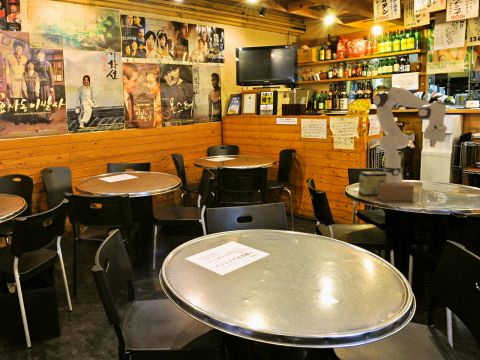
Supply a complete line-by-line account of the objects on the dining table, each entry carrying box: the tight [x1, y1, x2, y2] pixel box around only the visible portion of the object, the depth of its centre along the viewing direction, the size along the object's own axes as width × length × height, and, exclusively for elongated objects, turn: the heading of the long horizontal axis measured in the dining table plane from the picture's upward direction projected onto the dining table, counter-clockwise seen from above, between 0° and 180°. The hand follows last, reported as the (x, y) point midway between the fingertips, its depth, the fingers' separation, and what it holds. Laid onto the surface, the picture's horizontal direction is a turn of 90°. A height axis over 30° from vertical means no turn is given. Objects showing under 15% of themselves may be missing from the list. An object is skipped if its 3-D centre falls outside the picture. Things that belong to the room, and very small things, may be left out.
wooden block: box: [377, 182, 415, 201], centre depth 279 cm, size 10×10×20 cm
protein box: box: [358, 170, 387, 197], centre depth 293 cm, size 10×16×16 cm
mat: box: [373, 197, 417, 204], centre depth 277 cm, size 13×22×1 cm, turn 95°
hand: (431, 146), depth 286 cm, fingers closed
